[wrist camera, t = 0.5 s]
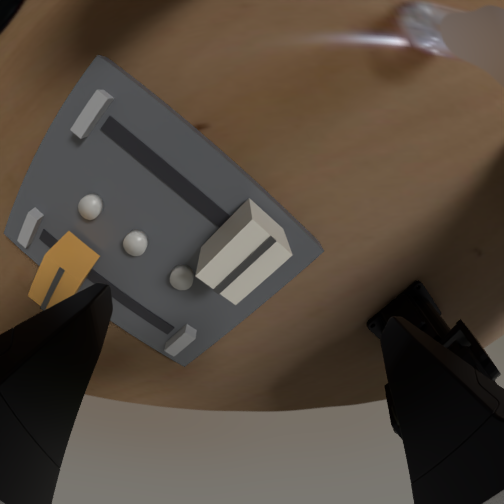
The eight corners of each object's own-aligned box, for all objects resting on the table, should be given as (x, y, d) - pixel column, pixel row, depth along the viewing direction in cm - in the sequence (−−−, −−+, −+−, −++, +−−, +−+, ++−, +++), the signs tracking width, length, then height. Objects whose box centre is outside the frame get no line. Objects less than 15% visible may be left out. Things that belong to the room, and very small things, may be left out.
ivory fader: (283, 228, 19) (292, 256, 16) (235, 273, 21) (235, 306, 17) (249, 197, 18) (252, 220, 15) (201, 246, 20) (195, 277, 16)
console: (319, 241, 22) (328, 258, 20) (186, 355, 27) (183, 375, 25) (107, 57, 15) (90, 52, 13) (13, 225, 20) (-3, 238, 17)
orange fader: (100, 256, 19) (79, 284, 16) (76, 292, 21) (58, 322, 18) (68, 230, 18) (43, 255, 15) (48, 270, 20) (26, 296, 16)
